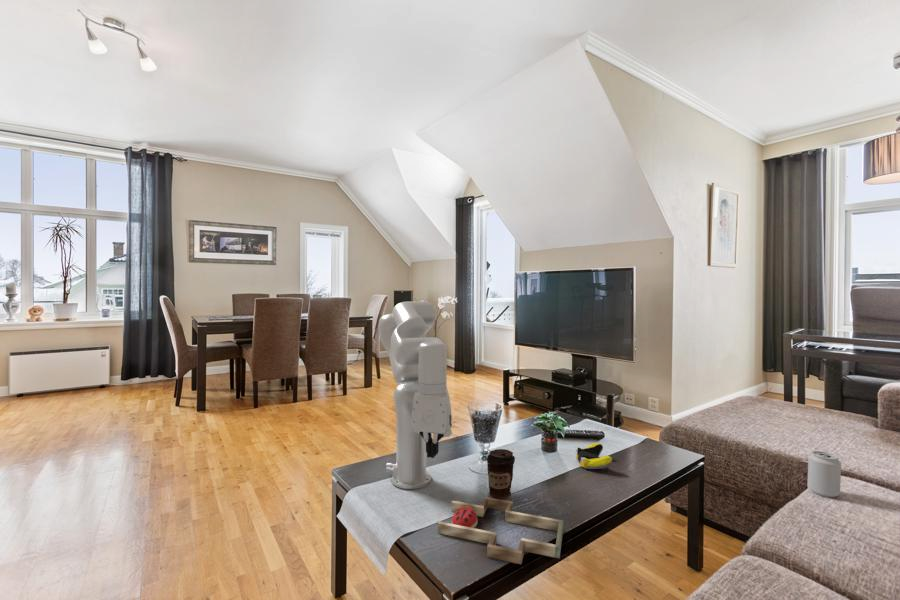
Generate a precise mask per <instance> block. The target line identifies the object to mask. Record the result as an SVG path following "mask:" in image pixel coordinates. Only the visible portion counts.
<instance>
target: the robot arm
mask: <svg viewBox="0 0 900 600" xmlns="http://www.w3.org/2000/svg"><path fill="white" fill-rule="evenodd" d="M436 319H437V311H436V308H435V306H434V305H433V304H432V303H431V302H429V301H423V300H422V301H421V300H420V301H415V300H414V301H412V300H411V301H402V302H399V303H397V304H396V305H395V306H393V309H392V311H391V313H387V314H384V315H383V316H381V317H380V319H379V320H378V334H379V335H378V336H379V338H380V341H381V344H382V346H383V348H384V349H385V352H386V353H387V354H388V357H389V362H390V366H391V371H392V375H393V379H394V381H395V383H396V385H397V384H398V385H397V386H396V387H395V388H394V390H393V404H394V411H395V419H396V420H395V422H396V423H395V424H396V425H395V426H396V427H395V428H396V433H395V434H396V438H395V439H396V440H395V441H396V444H395V445H396V449H395V450H396V456H395V457H396V460H395V461H396V463H392V462H386V464H385V472H387V473H391V474H392V475H391V484H393V485H394V486H395V487H396V488H399V489H404V490H417V489H420V488H424V487H426V486H427V485H429V484H430V483H431V480H432V475H431V473H430V472H429V471H427V458H431V459H434V458H435V457H436V456H437V455H438V454H439V441H440V440H442V439H443V438H450V437H451V436H452V435H453V432H452V424H453V419H452V418H453V416H452V405H451V404H452V403H451V399H450V393H449V390H448V387H447V385H448V384H447V382H448V381H447V380H448V379H447V375H448V374H447V373H448V371H447V367H448V366H447V365H448V363H447V362H448V355H447V353H448V352H447V351H448V349H447V345H446V343H444V342H443V341H442V339H440V338H438V337H429V336H428V337H424V336H425V335H426V334H427V333H428V332H429V331H430V330H431V329H432V327H433V326H434V325H435V322H436ZM432 434H433V435H432Z"/></svg>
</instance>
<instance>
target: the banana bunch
mask: <svg viewBox="0 0 900 600" xmlns="http://www.w3.org/2000/svg"><path fill="white" fill-rule="evenodd" d="M575 450H576V460H577V461H578V463H579V466H580V467H582V468H583V469H589V470H601V469H606V468H608V467H609V466H610V465H611V464H612V462H613V458H612V457H611V456H610V455H605V456H602V457H599V456H600V455H601V454H602V452H603V450H604V446H603V444H602V443H600V442H596V443H595V442H593V443H592V444H590V445H589V446H586V447H584V448H581V447H575Z"/></svg>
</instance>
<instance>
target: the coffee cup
mask: <svg viewBox="0 0 900 600" xmlns="http://www.w3.org/2000/svg"><path fill="white" fill-rule="evenodd" d="M515 462H516V457H515V456H514V453H513V451H512V450H509V449H504V448H498V449H497V448H496V449H494V450H490V451H489V454H488V455H487V456H486V464H487V476H488V477H487V478H488V480H487V481H488V488H489V491H488V492H489V497H490V498H495V499H500V500H508V499H510V498H512V493H511V490H512V482H513V477H514V464H515Z"/></svg>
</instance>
